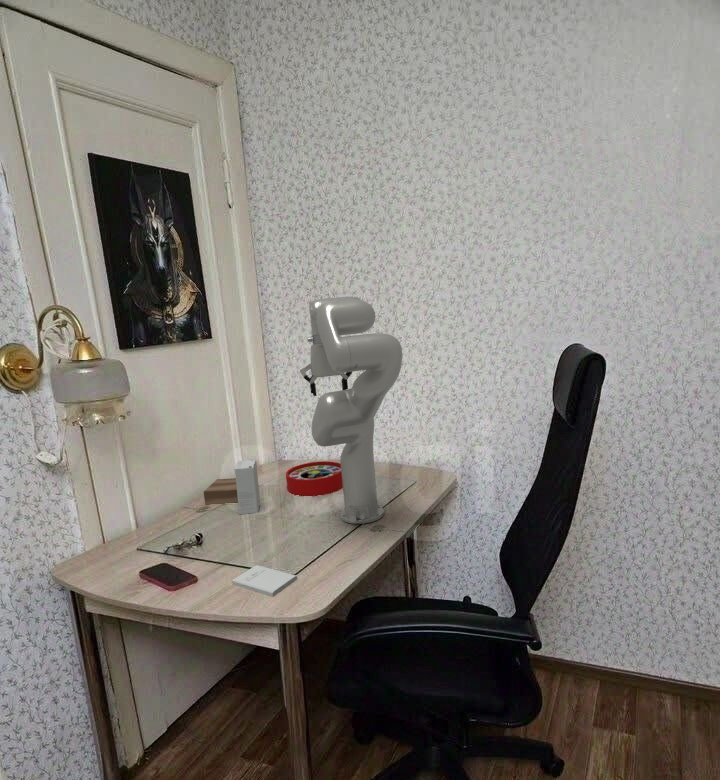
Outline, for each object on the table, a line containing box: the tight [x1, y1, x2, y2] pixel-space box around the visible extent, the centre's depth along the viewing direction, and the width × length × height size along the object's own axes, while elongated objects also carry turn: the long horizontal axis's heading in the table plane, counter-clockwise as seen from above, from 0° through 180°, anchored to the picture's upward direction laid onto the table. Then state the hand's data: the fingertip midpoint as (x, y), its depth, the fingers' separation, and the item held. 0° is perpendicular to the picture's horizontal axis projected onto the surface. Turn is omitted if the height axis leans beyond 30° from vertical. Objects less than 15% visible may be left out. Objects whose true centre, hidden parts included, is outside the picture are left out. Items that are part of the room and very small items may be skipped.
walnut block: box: [203, 477, 238, 506], centre depth 180 cm, size 12×12×5 cm
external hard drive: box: [231, 564, 298, 598], centre depth 122 cm, size 2×8×12 cm
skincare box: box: [234, 459, 261, 515], centre depth 167 cm, size 8×6×15 cm
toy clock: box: [285, 460, 343, 497], centre depth 184 cm, size 20×6×20 cm
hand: (329, 393), depth 171 cm, fingers open, 9 cm apart
